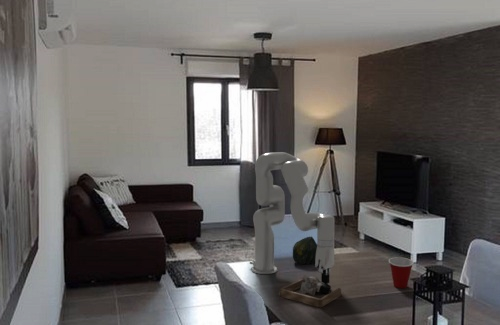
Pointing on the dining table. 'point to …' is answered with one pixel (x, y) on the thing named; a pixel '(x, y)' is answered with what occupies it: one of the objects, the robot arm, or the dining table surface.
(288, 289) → the walnut bay
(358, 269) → the dining table surface
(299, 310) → the dining table surface
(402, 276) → the plastic cup
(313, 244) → the squash
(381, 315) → the dining table surface
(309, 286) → the caster wheel
